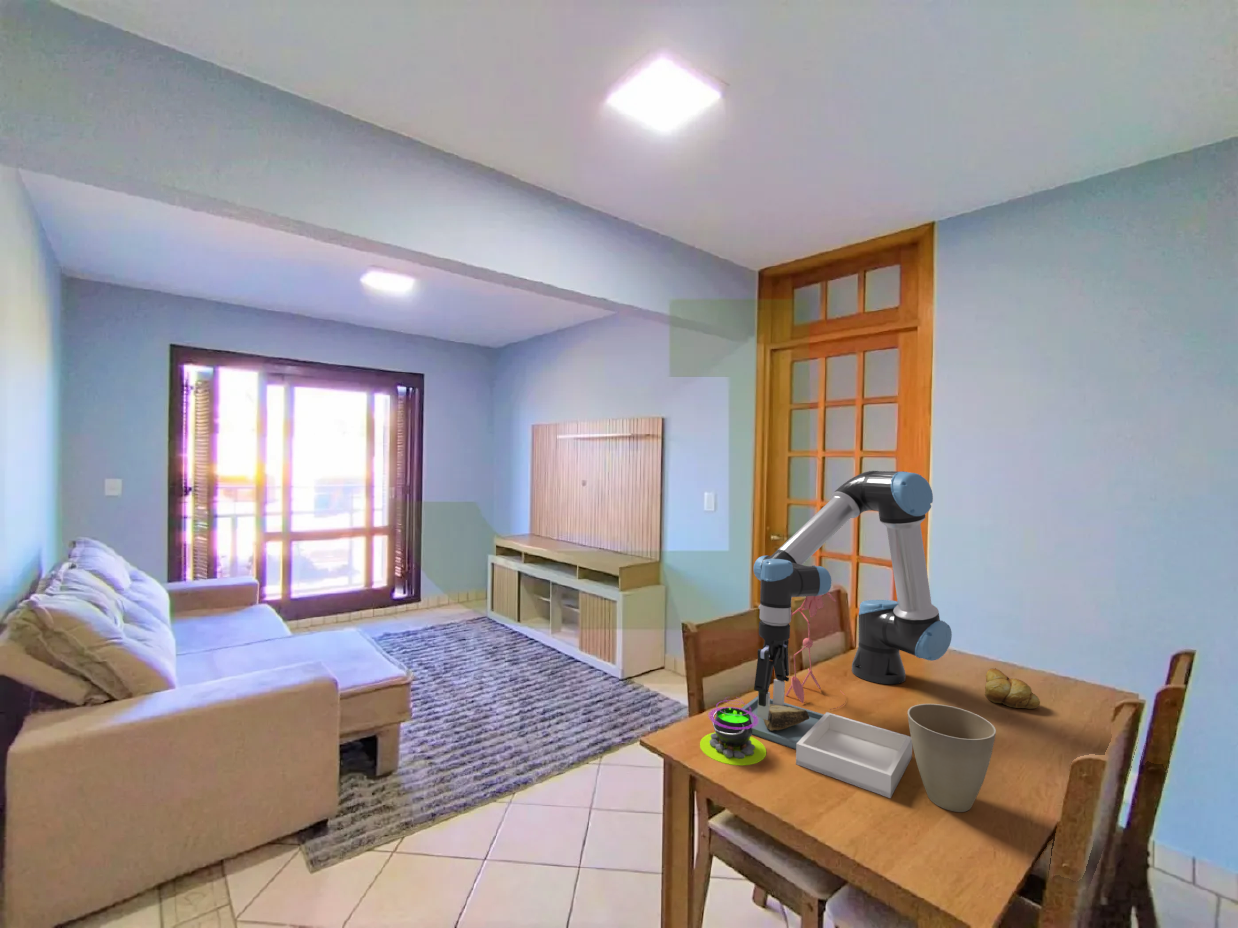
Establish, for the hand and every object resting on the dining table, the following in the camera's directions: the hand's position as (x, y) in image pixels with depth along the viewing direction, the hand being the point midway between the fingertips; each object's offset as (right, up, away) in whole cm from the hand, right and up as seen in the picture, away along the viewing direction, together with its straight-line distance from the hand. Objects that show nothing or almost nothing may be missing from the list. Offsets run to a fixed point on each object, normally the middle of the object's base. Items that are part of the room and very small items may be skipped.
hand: (770, 711), depth 141 cm
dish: (+14, -3, -17) cm, 22 cm away
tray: (+2, -3, 0) cm, 4 cm away
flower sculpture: (+17, -3, +15) cm, 23 cm away
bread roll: (+70, -5, +15) cm, 72 cm away
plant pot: (+26, -4, -31) cm, 41 cm away
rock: (0, -4, +3) cm, 5 cm away
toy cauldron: (-12, -3, -12) cm, 17 cm away
